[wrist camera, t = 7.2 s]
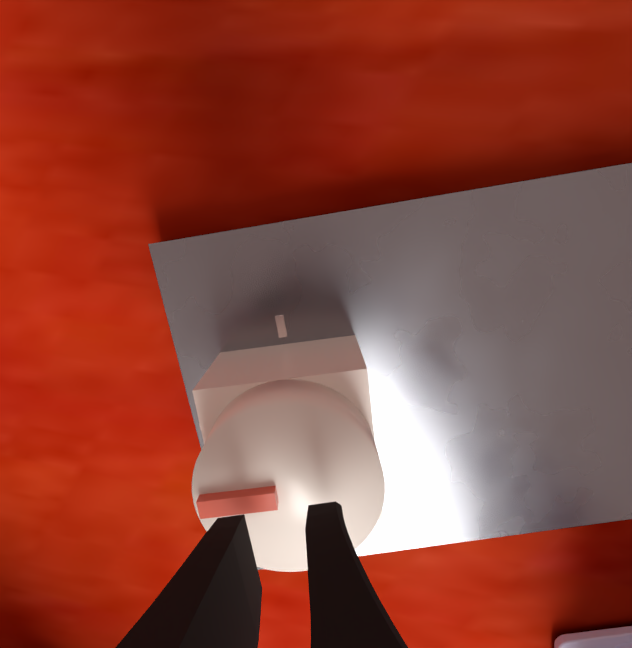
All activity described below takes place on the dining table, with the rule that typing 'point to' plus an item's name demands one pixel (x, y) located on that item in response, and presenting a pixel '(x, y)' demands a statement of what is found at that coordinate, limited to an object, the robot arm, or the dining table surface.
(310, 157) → the dining table surface
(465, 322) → the panel
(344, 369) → the knob
